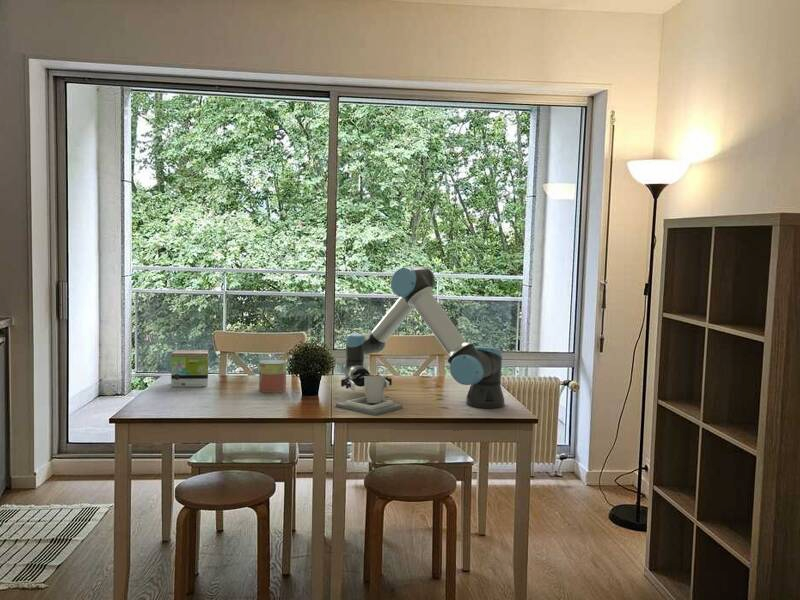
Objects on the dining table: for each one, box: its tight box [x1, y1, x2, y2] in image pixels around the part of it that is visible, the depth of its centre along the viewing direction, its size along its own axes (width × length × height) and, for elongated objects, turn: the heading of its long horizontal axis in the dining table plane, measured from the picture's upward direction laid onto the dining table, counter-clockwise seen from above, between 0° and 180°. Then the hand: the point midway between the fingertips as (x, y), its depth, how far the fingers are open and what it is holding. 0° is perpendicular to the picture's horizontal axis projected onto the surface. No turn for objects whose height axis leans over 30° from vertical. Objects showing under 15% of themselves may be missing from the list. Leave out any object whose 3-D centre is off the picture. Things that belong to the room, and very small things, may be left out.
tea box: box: [170, 349, 209, 388], centre depth 318 cm, size 15×10×15 cm, turn 104°
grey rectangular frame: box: [335, 395, 403, 416], centre depth 286 cm, size 20×16×2 cm
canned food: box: [258, 358, 287, 393], centre depth 312 cm, size 11×11×12 cm
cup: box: [364, 375, 386, 403], centre depth 287 cm, size 8×8×10 cm
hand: (371, 386), depth 282 cm, fingers open, 13 cm apart
